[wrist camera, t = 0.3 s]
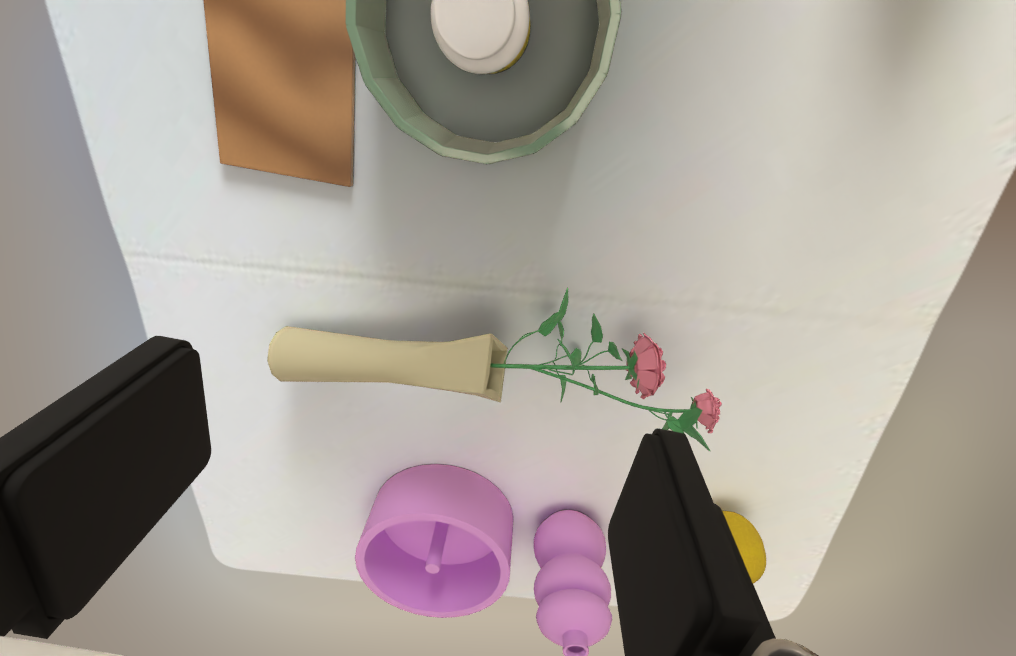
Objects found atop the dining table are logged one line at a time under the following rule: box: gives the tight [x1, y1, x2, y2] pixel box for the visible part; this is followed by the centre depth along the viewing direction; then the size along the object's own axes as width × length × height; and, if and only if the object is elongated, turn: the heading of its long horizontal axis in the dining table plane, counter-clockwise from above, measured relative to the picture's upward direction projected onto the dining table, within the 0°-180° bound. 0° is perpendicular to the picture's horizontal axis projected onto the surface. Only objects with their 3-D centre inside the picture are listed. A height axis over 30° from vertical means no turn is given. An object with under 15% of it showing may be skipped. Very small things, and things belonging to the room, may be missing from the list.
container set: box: [355, 464, 612, 656], centre depth 48 cm, size 25×15×13 cm, turn 88°
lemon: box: [722, 511, 766, 583], centre depth 48 cm, size 6×6×8 cm
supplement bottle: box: [431, 0, 530, 74], centre depth 28 cm, size 5×5×10 cm
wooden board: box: [204, 0, 355, 187], centre depth 33 cm, size 20×10×1 cm, turn 170°
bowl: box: [345, 0, 621, 164], centre depth 30 cm, size 15×15×6 cm
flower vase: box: [267, 288, 722, 451], centre depth 40 cm, size 12×12×35 cm
